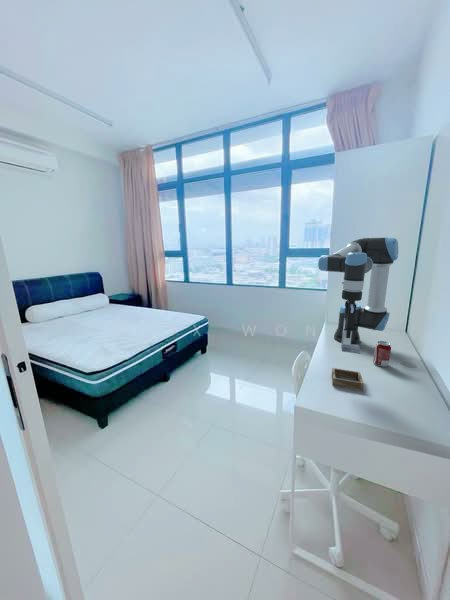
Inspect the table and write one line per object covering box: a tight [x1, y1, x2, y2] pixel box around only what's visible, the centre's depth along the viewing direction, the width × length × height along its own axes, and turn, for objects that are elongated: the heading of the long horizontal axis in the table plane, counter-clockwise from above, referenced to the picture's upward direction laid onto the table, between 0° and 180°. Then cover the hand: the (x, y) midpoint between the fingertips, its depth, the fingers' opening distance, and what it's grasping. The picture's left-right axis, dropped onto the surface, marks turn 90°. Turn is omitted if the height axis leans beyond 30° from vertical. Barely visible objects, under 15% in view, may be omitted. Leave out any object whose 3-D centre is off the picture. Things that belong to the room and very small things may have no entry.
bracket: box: [340, 318, 361, 354], centre depth 107 cm, size 7×5×14 cm
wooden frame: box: [331, 367, 365, 392], centre depth 112 cm, size 10×12×4 cm
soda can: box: [372, 340, 392, 368], centre depth 127 cm, size 7×7×12 cm
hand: (346, 341), depth 108 cm, fingers closed on bracket, 5 cm apart
